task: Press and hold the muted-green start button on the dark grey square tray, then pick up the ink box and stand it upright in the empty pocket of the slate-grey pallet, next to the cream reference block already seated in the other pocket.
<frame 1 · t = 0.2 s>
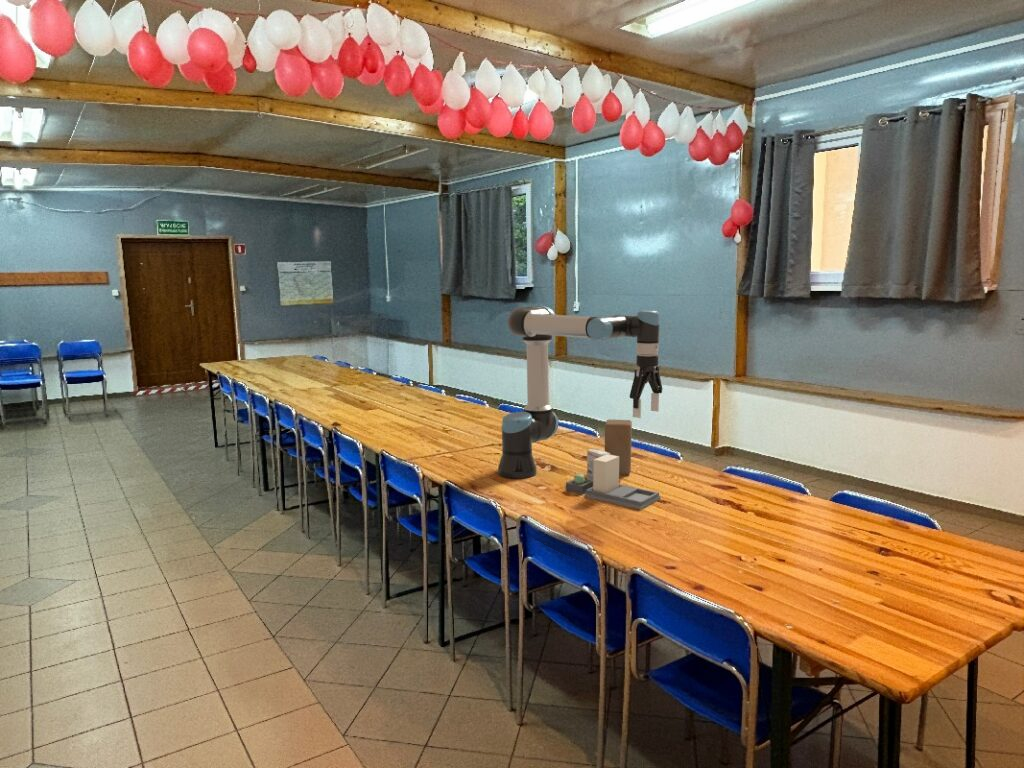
hand: (645, 414, 240), 28 cm above the table, fingers open, 13 cm apart
pallet: (622, 497, 234), on the table
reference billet: (606, 494, 238), resting on pallet
block: (617, 471, 266), on the table
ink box: (598, 482, 253), on the table
start button: (579, 480, 243), point 3 cm above the table, slide at 0.0 cm
dark grey square tray: (579, 490, 243), on the table
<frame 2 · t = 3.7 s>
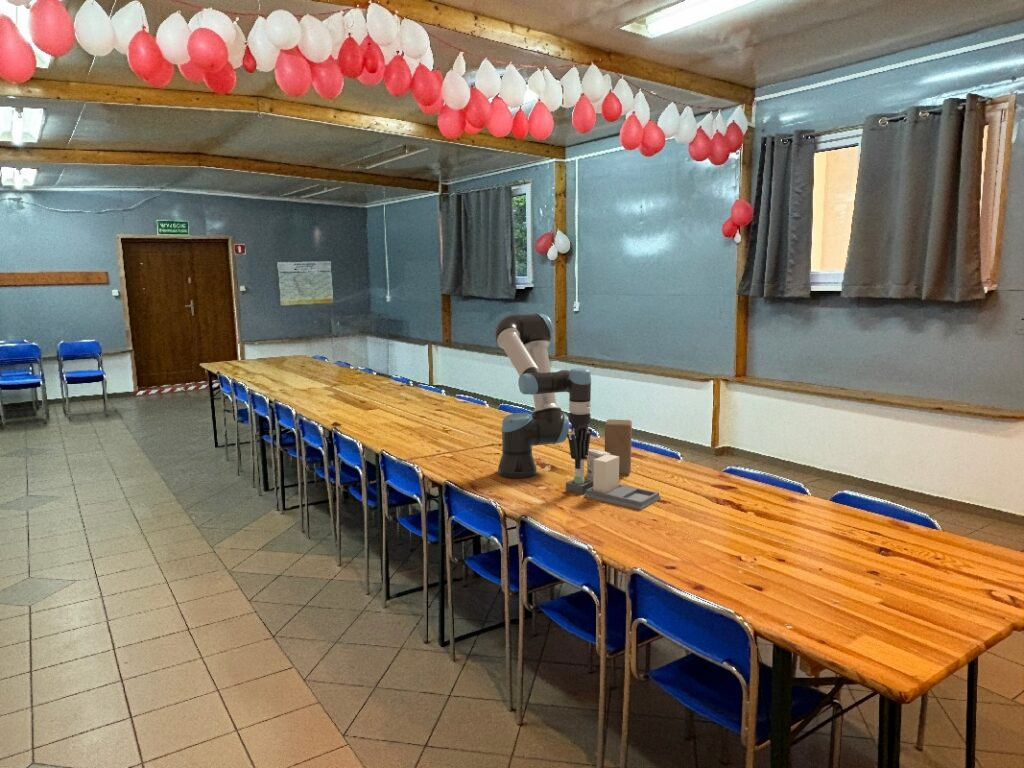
hand: (579, 476, 242), 5 cm above the table, fingers closed
start button: (579, 482, 243), point 3 cm above the table, slide at 0.7 cm, touching gripper
everything else where it was.
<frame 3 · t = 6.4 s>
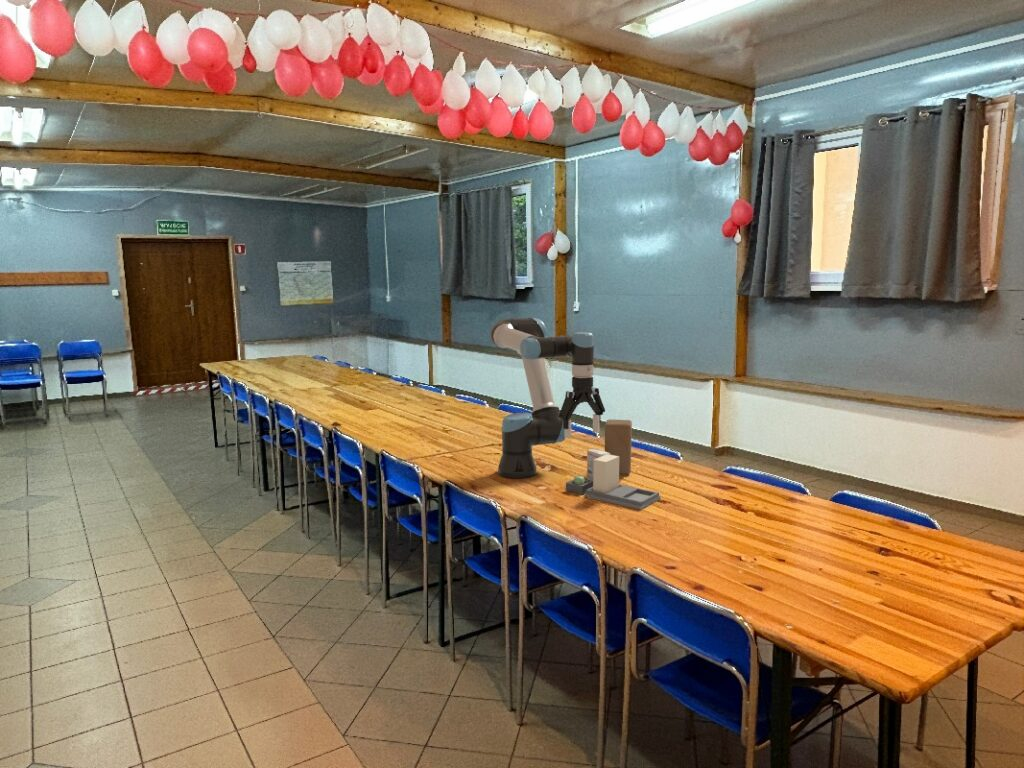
hand: (582, 435, 241), 20 cm above the table, fingers open, 13 cm apart
start button: (579, 482, 243), point 3 cm above the table, slide at 0.7 cm
everything else where it was.
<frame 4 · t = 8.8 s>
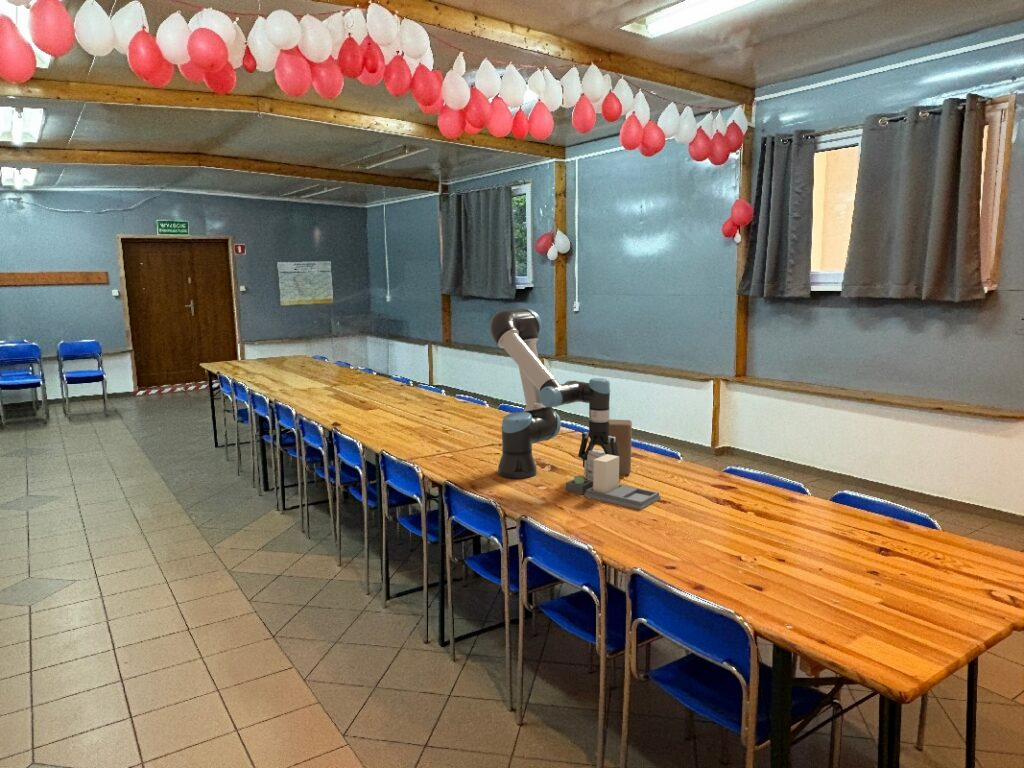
hand: (598, 478, 253), 1 cm above the table, fingers closed on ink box, 9 cm apart
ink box: (598, 482, 253), on the table, touching gripper
everything else where it was.
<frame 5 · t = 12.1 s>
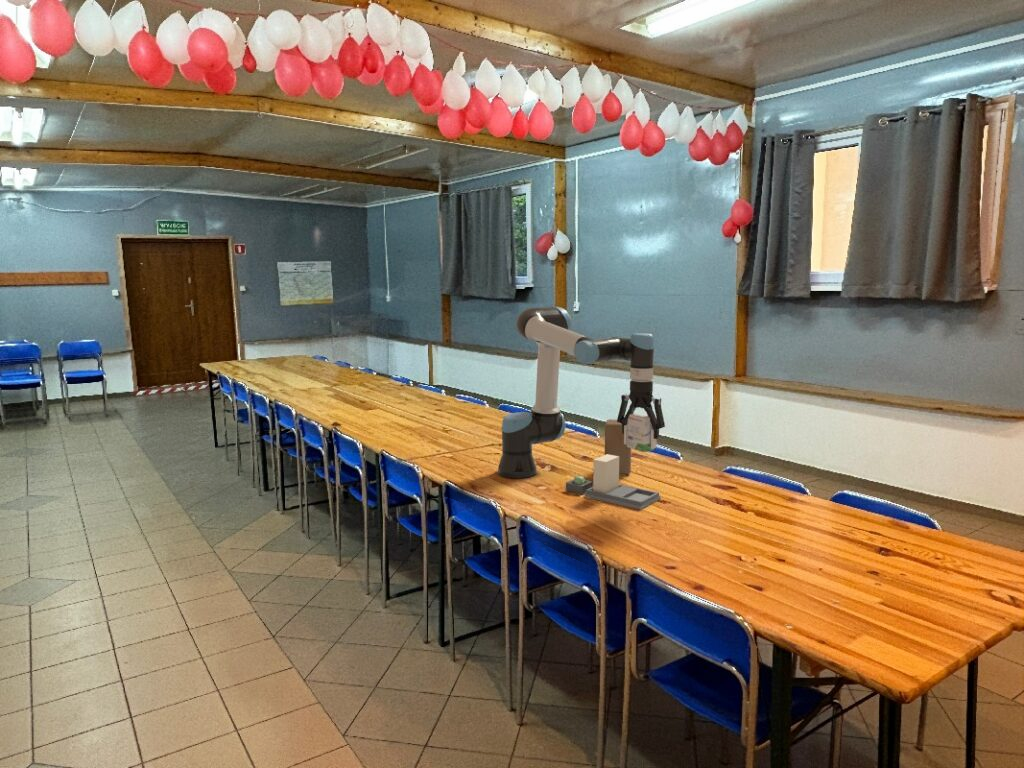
hand: (640, 445, 227), 20 cm above the table, fingers closed on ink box, 9 cm apart
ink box: (640, 449, 228), point 18 cm above the table, touching gripper
everything else where it was.
when the fingers open (4 cm above the table, at t = 15.5 s): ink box stays where it is, resting on pallet.
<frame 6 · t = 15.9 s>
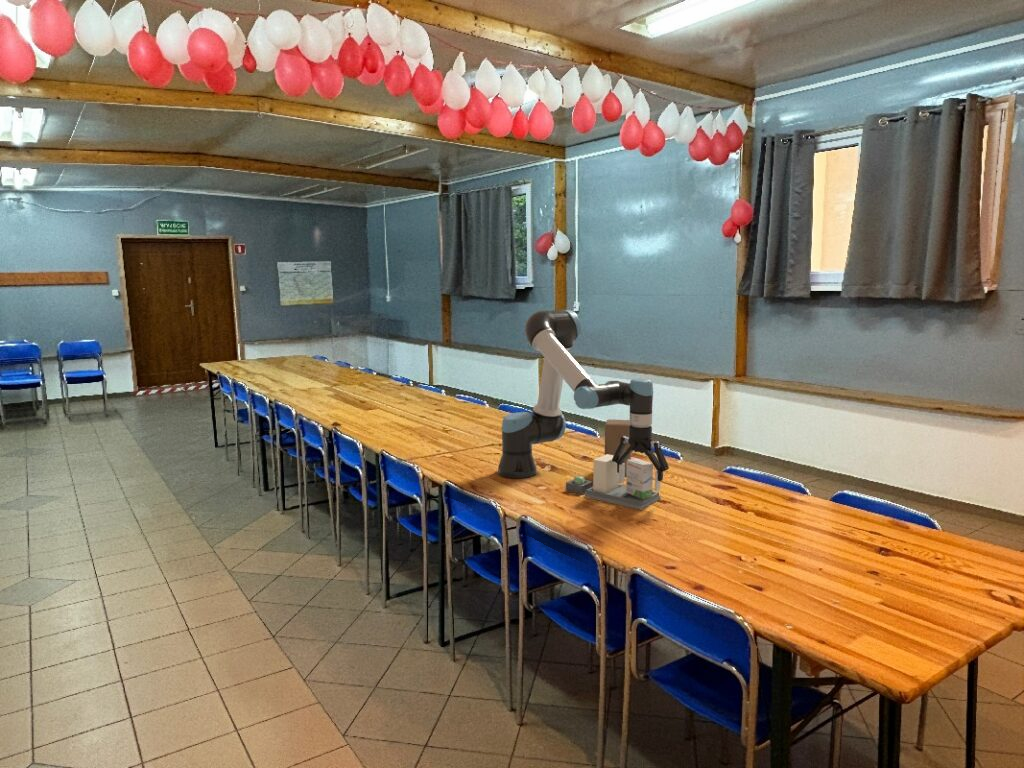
hand: (639, 486, 230), 6 cm above the table, fingers open, 13 cm apart
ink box: (638, 495, 230), point 2 cm above the table, touching pallet
everything else where it was.
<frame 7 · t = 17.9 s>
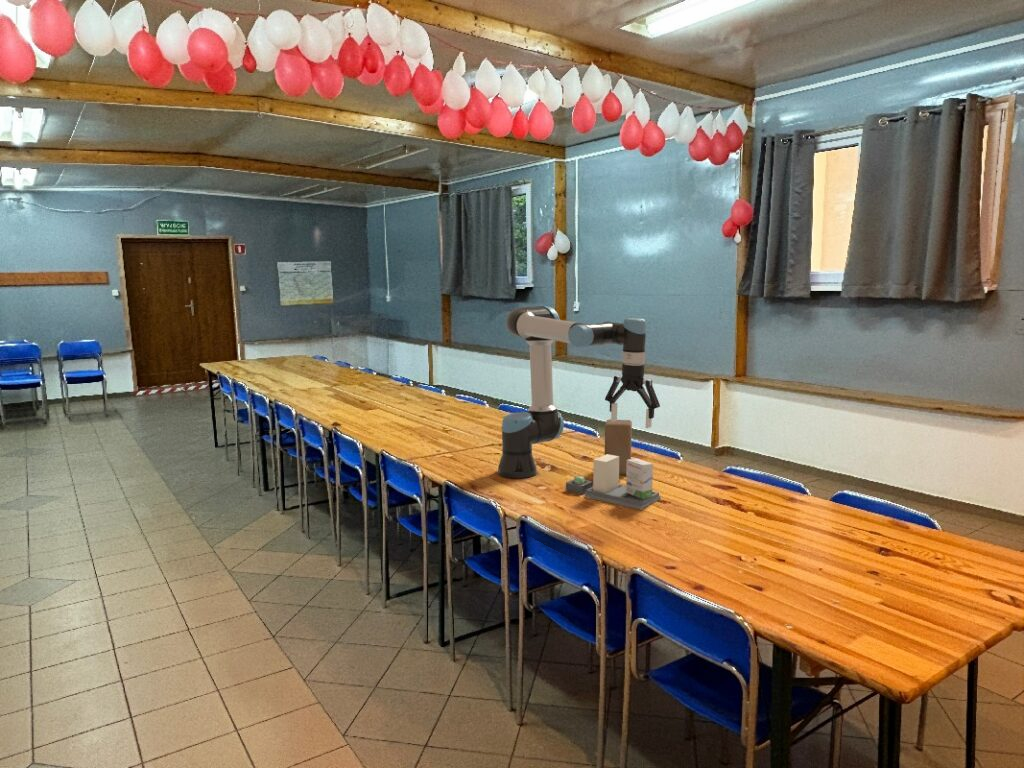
hand: (630, 424, 234), 25 cm above the table, fingers open, 13 cm apart
nothing on the table moved.
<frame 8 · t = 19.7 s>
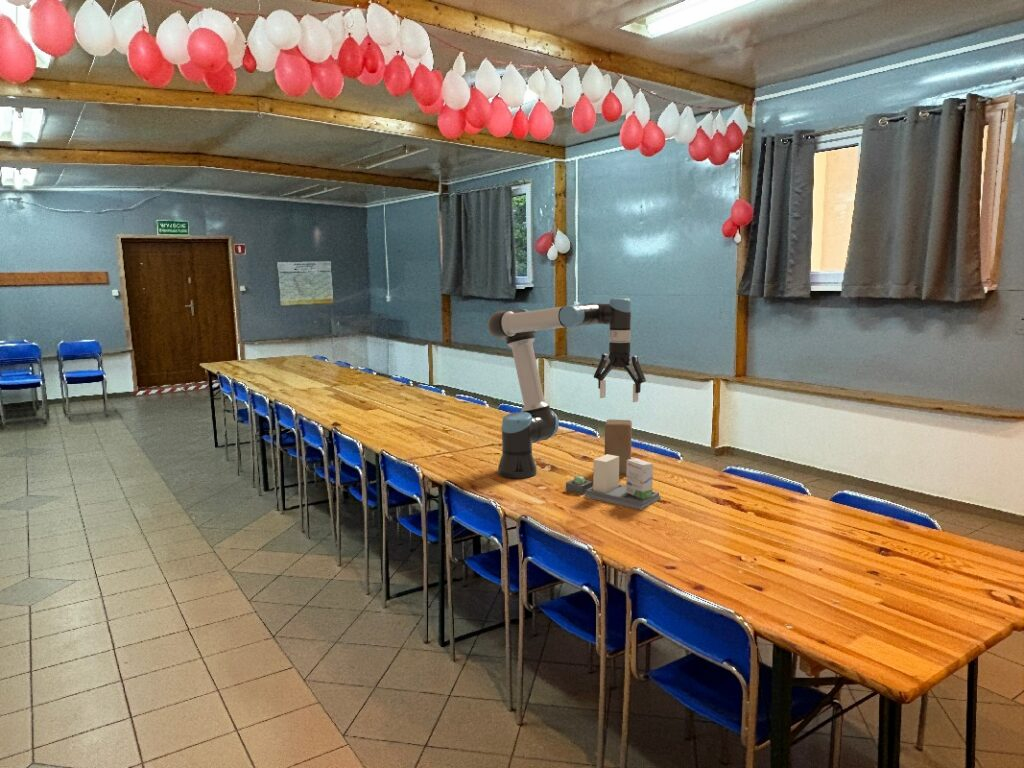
hand: (618, 399, 245), 32 cm above the table, fingers open, 13 cm apart
nothing on the table moved.
at the end: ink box 0.1 cm from the target spot on the pallet, point 2.2 cm above the pallet's base; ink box tilted 0°; the gripper is holding nothing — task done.
